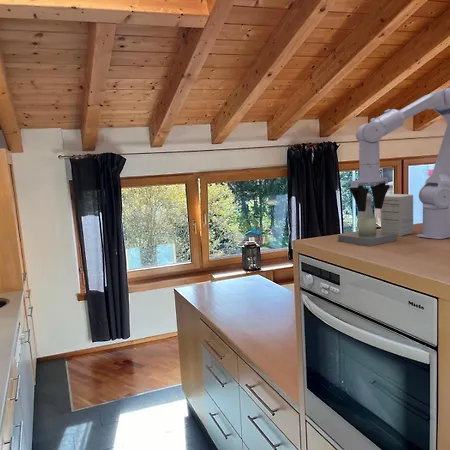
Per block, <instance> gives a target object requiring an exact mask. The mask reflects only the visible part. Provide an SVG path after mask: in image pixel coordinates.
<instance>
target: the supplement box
mask: <svg viewBox="0 0 450 450" xmlns="http://www.w3.org/2000/svg"><path fill="white" fill-rule="evenodd" d="M380 232H386V233H394V234H397V237H402V236H406V235H410V234H414V195H413V194H411V193H410V194H407V193H406V194H402V193H399V194H398V193H392V194H386V195H385V198H384V202H383V206H382V209H380Z"/></svg>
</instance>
